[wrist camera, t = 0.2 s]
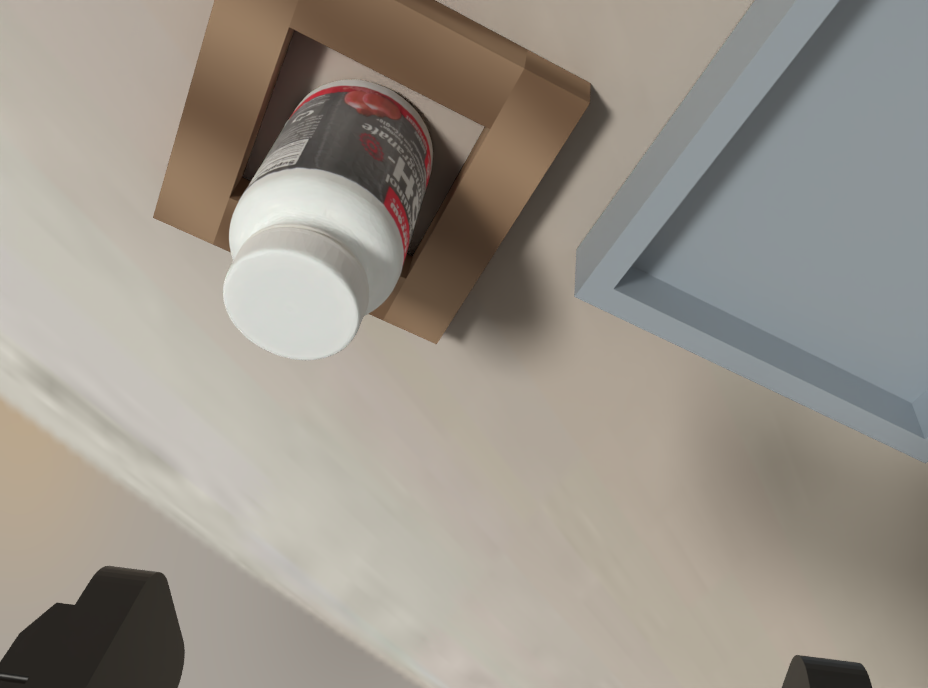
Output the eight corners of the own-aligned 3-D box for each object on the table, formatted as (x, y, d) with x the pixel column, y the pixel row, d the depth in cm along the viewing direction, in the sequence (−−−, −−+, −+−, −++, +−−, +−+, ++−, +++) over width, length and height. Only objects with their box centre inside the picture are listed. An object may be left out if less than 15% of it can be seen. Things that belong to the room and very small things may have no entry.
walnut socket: (253, -97, 27) (238, -83, 26) (590, 83, 29) (589, 102, 28) (167, 196, 35) (153, 217, 33) (441, 321, 37) (436, 344, 36)
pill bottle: (466, 151, 32) (423, 321, 24) (369, 232, 35) (305, 407, 27) (353, 42, 30) (270, 192, 22) (261, 138, 32) (159, 299, 25)
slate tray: (879, -174, 24) (907, -149, 21) (1296, 97, 27) (1359, 143, 25) (576, 249, 34) (574, 296, 32) (906, 410, 37) (925, 463, 35)
